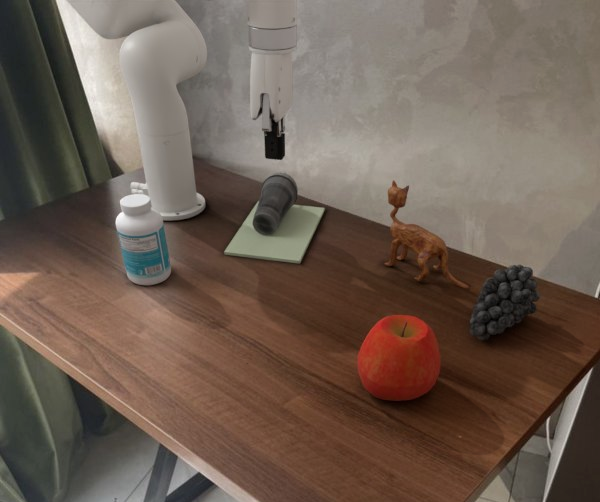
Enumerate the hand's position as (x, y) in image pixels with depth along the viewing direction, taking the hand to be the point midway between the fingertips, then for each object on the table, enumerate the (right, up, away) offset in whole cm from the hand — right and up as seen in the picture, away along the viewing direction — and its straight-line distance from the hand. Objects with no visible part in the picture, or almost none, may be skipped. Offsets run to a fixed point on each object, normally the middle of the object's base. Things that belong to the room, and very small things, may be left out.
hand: (275, 157), depth 105 cm
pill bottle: (-21, -21, -3) cm, 30 cm away
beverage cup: (-2, -10, +5) cm, 12 cm away
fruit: (+34, -31, -13) cm, 48 cm away
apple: (+17, -41, -24) cm, 50 cm away
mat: (0, -10, +10) cm, 14 cm away
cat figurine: (+25, -21, -2) cm, 33 cm away
